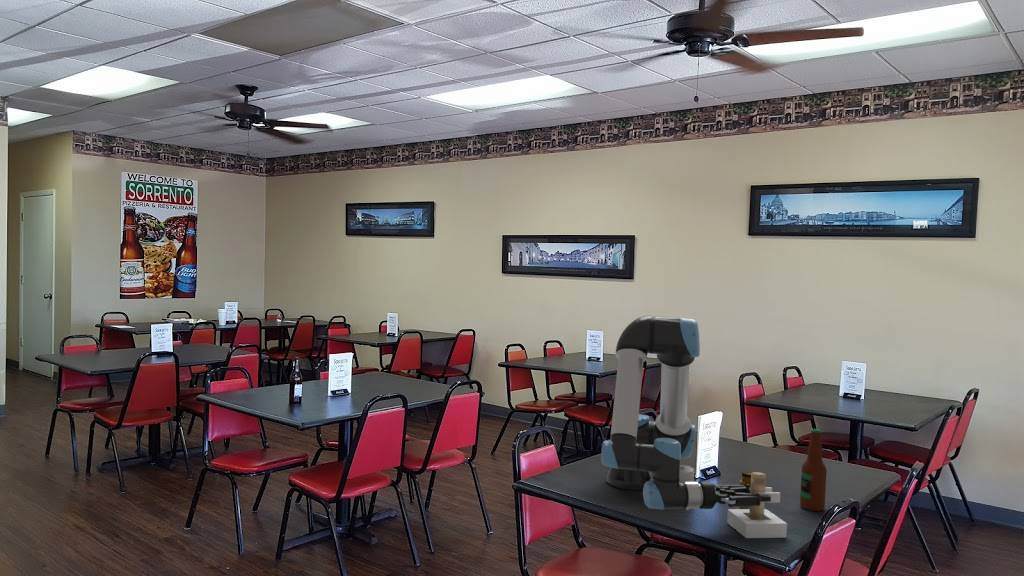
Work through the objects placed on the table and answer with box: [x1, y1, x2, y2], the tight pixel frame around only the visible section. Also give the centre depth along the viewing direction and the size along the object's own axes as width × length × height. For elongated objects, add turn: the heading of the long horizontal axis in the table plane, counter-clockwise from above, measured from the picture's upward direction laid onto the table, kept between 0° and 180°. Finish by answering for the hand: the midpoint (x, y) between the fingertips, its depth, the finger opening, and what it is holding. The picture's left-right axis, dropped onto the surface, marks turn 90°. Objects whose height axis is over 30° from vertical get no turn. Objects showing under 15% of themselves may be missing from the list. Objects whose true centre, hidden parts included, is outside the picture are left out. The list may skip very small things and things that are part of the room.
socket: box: [726, 508, 788, 539], centre depth 208 cm, size 12×12×4 cm
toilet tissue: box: [680, 464, 695, 481], centre depth 241 cm, size 9×13×9 cm
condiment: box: [738, 470, 754, 509], centre depth 223 cm, size 7×8×12 cm
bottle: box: [799, 428, 828, 512], centre depth 230 cm, size 7×7×25 cm
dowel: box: [749, 471, 767, 520], centre depth 208 cm, size 4×4×14 cm
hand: (775, 494), depth 208 cm, fingers closed on dowel, 4 cm apart
